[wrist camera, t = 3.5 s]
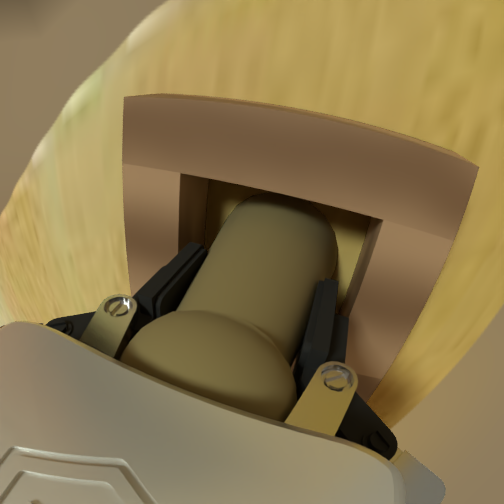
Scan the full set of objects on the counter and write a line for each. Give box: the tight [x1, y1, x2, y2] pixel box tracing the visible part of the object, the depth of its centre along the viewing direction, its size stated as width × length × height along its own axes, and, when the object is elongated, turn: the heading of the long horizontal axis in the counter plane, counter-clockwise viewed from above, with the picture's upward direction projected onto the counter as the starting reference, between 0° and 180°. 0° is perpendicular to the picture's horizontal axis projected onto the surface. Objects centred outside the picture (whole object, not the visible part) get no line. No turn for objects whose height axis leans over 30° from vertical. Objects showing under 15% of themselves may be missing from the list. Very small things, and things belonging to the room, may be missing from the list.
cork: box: [119, 192, 338, 423], centre depth 11 cm, size 6×6×11 cm
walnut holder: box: [122, 94, 479, 403], centre depth 15 cm, size 14×14×3 cm
